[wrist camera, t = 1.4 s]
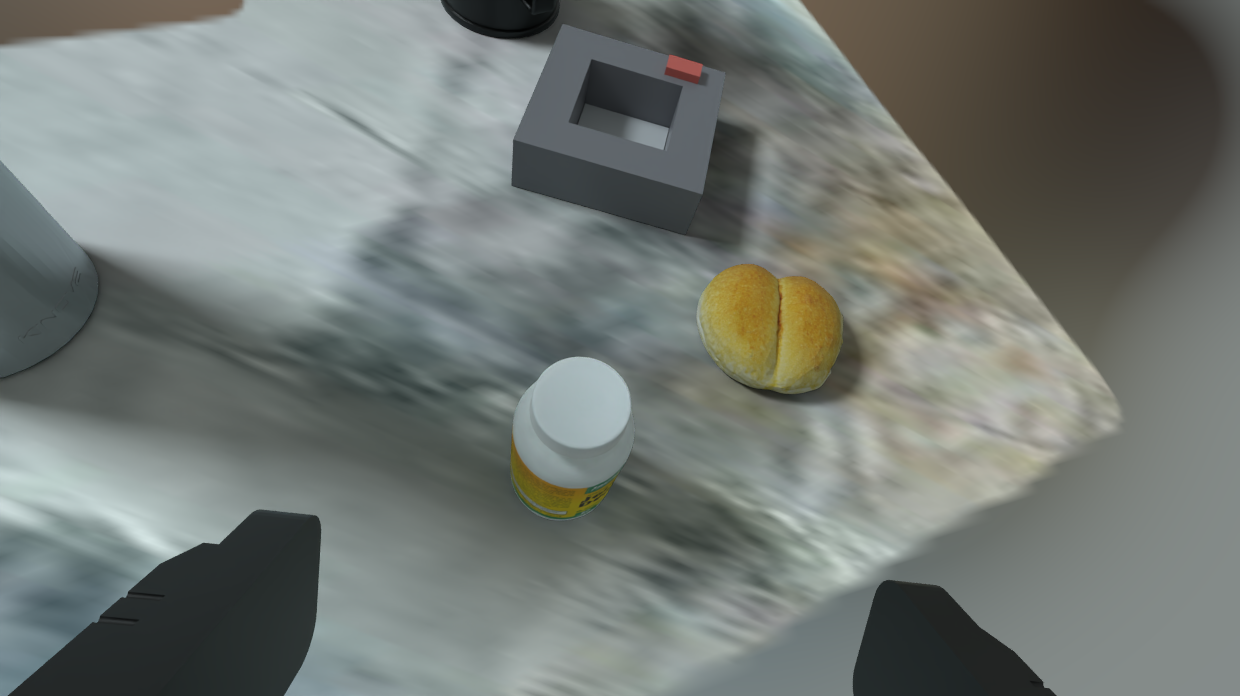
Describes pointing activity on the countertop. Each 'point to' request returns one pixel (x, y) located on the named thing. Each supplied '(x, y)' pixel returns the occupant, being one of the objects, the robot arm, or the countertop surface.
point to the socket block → (619, 130)
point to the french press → (503, 16)
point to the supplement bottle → (570, 438)
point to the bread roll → (770, 329)
